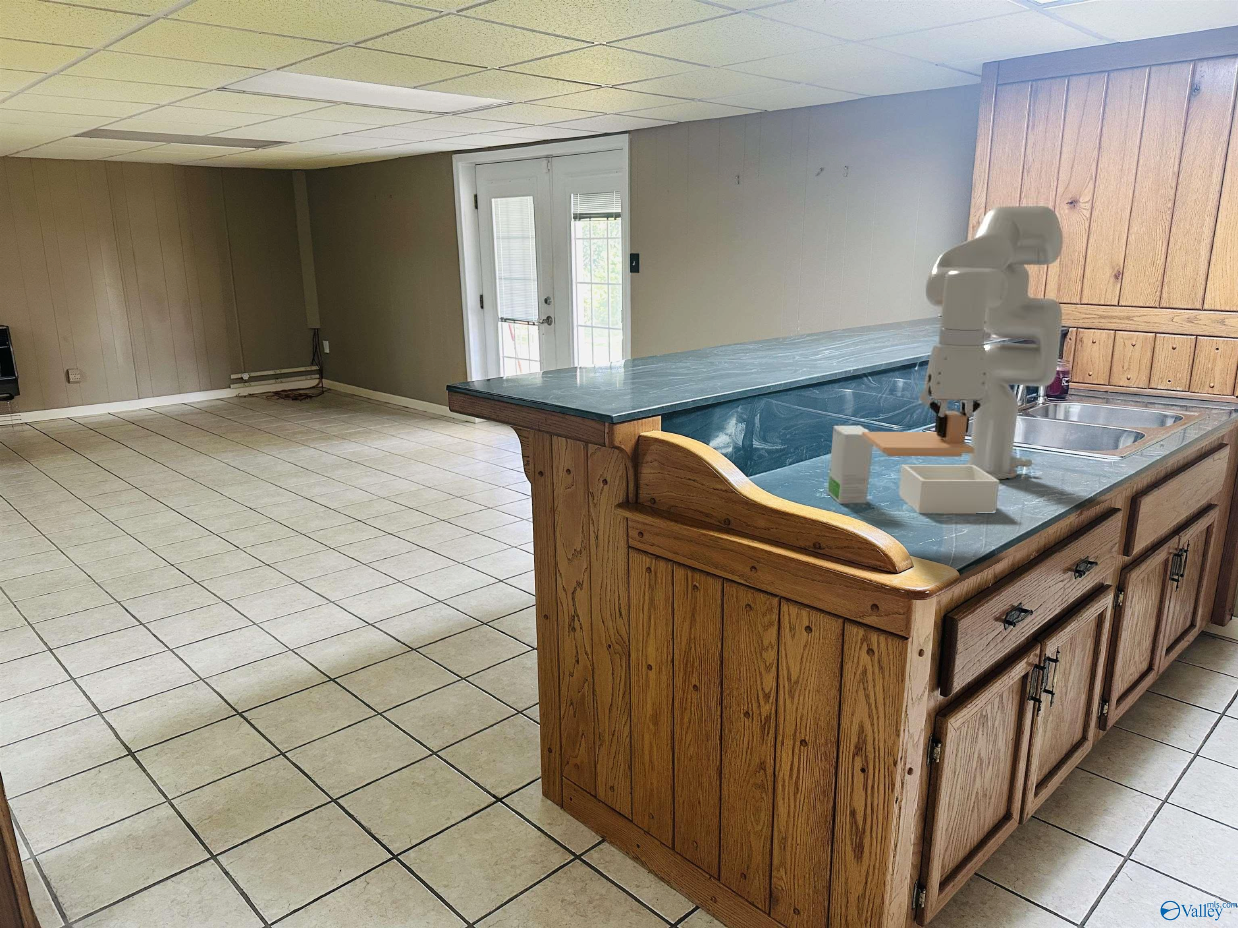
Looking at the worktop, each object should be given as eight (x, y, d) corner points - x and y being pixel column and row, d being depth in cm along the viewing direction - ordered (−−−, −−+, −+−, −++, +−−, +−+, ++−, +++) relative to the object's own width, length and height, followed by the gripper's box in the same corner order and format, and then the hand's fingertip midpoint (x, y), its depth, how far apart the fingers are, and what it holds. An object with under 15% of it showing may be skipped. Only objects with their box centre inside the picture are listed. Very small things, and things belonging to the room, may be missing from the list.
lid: (945, 442, 169) (949, 407, 167) (973, 458, 156) (977, 420, 154) (861, 441, 169) (864, 406, 167) (881, 458, 156) (885, 420, 154)
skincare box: (827, 493, 192) (831, 425, 188) (855, 492, 192) (860, 424, 188) (839, 504, 184) (844, 433, 180) (869, 503, 184) (875, 433, 180)
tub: (970, 495, 190) (974, 465, 189) (995, 513, 178) (999, 481, 176) (898, 495, 190) (901, 464, 189) (918, 513, 178) (921, 480, 176)
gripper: (996, 337, 161) (985, 432, 165) (909, 336, 161) (901, 432, 165) (1014, 341, 154) (1002, 441, 158) (923, 340, 154) (913, 440, 158)
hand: (950, 435), depth 162 cm, fingers closed on lid, 3 cm apart
